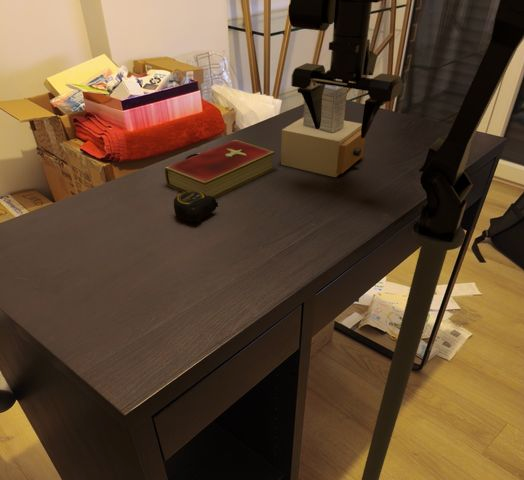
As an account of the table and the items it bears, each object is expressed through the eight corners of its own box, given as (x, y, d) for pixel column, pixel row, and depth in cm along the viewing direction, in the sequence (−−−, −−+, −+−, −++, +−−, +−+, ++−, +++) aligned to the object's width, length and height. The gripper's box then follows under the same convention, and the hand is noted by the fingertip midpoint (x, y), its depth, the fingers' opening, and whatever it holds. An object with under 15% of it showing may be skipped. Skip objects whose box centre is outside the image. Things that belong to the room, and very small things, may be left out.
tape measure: (195, 228, 87) (193, 209, 84) (167, 218, 90) (164, 199, 87) (219, 214, 91) (217, 195, 88) (191, 204, 94) (190, 186, 91)
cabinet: (358, 158, 111) (363, 123, 106) (335, 177, 103) (339, 141, 98) (306, 147, 116) (308, 113, 111) (280, 164, 108) (281, 129, 103)
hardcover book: (166, 185, 100) (163, 165, 97) (235, 156, 112) (234, 137, 109) (206, 202, 95) (204, 181, 92) (274, 169, 106) (274, 150, 103)
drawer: (367, 157, 109) (371, 130, 105) (347, 174, 102) (350, 147, 98) (314, 145, 114) (316, 120, 110) (291, 161, 107) (292, 135, 103)
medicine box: (343, 128, 104) (348, 83, 98) (332, 133, 101) (336, 88, 95) (314, 120, 107) (317, 77, 101) (302, 125, 105) (304, 81, 99)
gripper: (421, 31, 80) (402, 129, 90) (321, 21, 87) (314, 113, 97) (398, 43, 73) (381, 147, 83) (291, 31, 80) (288, 129, 90)
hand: (340, 133), depth 89 cm, fingers open, 9 cm apart
